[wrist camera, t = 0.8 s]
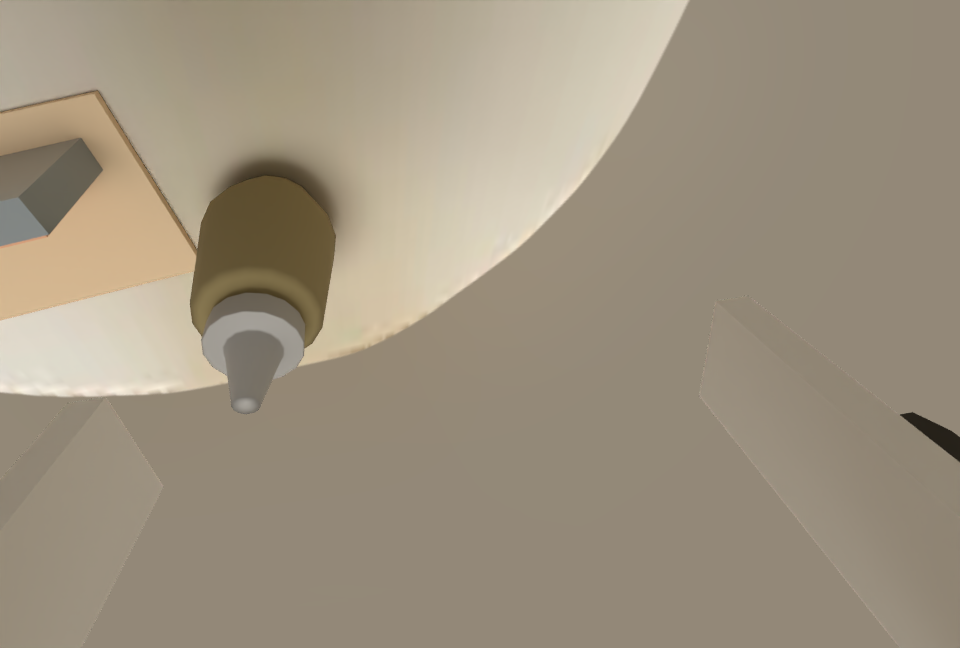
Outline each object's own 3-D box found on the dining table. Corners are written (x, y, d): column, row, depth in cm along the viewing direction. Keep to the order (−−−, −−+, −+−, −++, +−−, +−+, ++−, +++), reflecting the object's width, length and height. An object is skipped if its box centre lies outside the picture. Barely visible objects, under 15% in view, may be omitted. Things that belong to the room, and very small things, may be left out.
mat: (-188, 153, 27) (-197, 157, 26) (97, 90, 28) (93, 93, 28) (-11, 318, 35) (-15, 324, 34) (205, 264, 36) (204, 268, 36)
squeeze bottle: (259, 279, 38) (225, 483, 24) (182, 189, 33) (84, 386, 19) (355, 235, 38) (374, 419, 24) (293, 137, 32) (273, 301, 19)
